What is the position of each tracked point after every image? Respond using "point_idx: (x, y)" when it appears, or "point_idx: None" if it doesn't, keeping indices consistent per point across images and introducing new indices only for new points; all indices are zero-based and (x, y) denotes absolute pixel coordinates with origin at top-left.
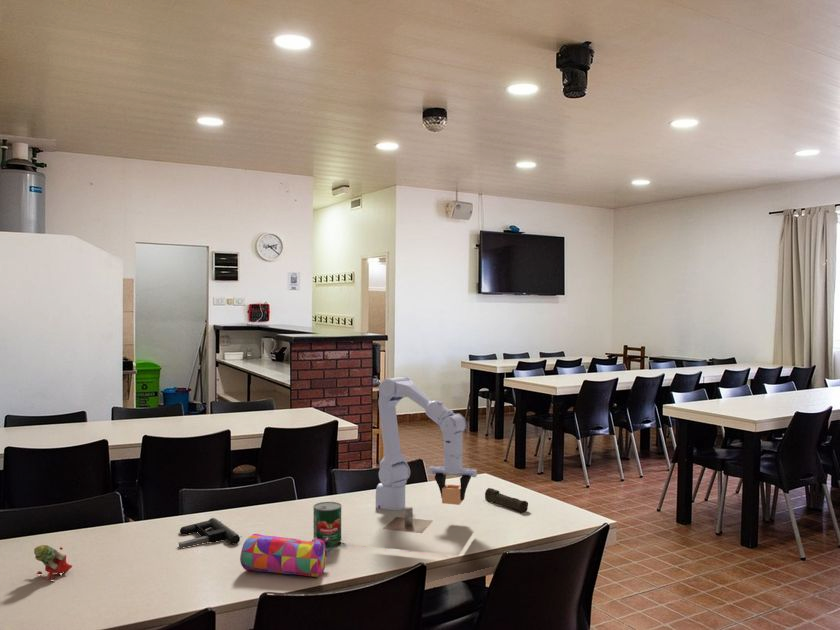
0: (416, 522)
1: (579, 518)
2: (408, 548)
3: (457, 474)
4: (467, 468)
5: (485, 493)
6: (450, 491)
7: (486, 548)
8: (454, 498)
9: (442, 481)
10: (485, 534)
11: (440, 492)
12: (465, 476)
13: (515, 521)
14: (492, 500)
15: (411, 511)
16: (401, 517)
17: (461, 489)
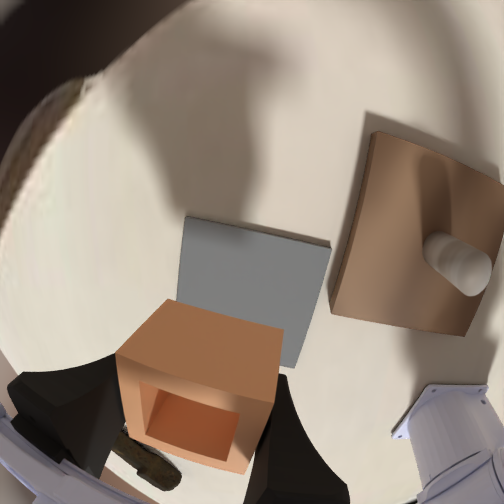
0: (405, 279)
1: (4, 337)
2: (398, 30)
3: (100, 488)
4: (36, 494)
5: (175, 483)
6: (198, 368)
7: (116, 72)
8: (183, 327)
9: (264, 467)
10: (117, 211)
11: (292, 401)
12: (37, 434)
13: (72, 337)
14: (157, 461)
15: (458, 256)
16: (449, 333)
17: (112, 371)
